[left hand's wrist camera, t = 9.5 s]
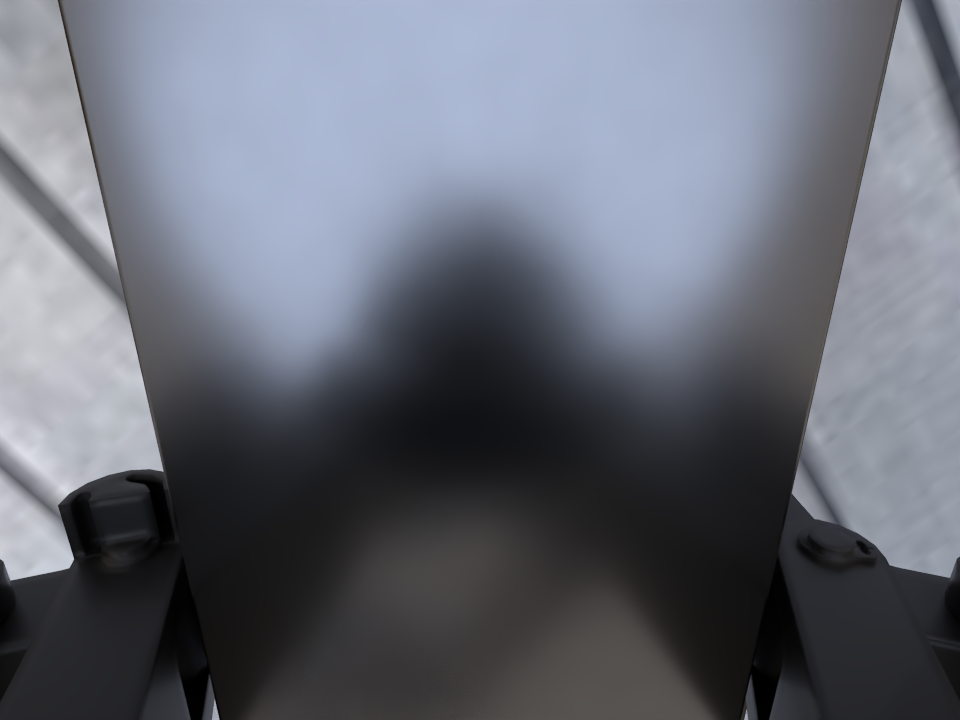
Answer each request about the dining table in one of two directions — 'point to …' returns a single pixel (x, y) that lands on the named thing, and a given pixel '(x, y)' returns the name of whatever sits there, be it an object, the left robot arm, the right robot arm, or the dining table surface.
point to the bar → (480, 331)
